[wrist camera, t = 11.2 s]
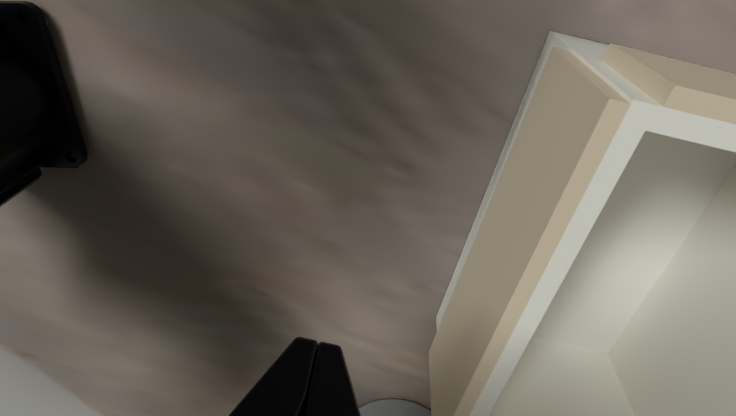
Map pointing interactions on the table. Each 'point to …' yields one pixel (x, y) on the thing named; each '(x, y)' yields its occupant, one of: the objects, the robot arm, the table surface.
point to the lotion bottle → (393, 408)
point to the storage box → (600, 248)
